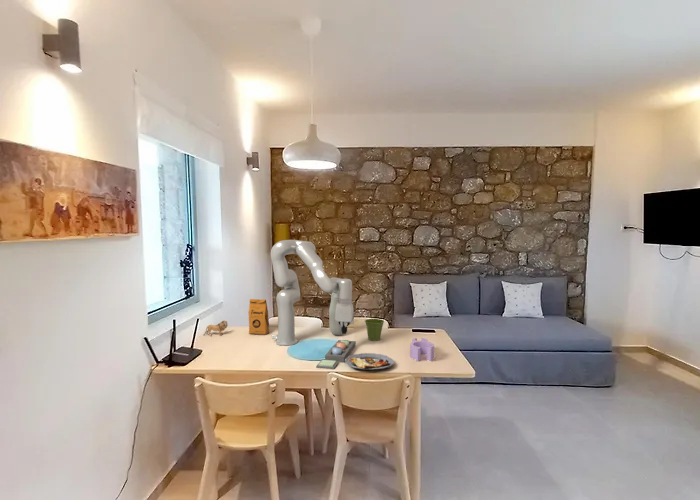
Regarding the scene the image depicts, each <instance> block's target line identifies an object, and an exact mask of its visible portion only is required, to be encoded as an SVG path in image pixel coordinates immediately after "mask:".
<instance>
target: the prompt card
mask: <svg viewBox="0 0 700 500" xmlns="http://www.w3.org/2000/svg"><path fill="white" fill-rule="evenodd" d="M339 363H340V362H339V361H332V360H325V359H321V360H320V361H319V362H318V363H317V365H316V366H315V368H318V369H319V368H320V369H326V370H327V369H330V370H335V368H336V367H337V366H338V365H339Z"/></svg>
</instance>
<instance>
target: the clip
mask: <svg viewBox="0 0 700 500" xmlns="http://www.w3.org/2000/svg"><path fill="white" fill-rule="evenodd" d="M409 349H410V350H409V353H410V354H409V357H410V358H411V359H412V358H413V359H412V360H414V359H416V360H415V361H416V362H417V361H419V360H420V361H421V355H425V354H427V355H426V361H427V360H429V361H432V362H433V360H434V359H435V343H433V342H430V341H429V339H427V338H425V337H421V339H420V340H418V338H417V337H413V338H411V342H410V346H409ZM433 358H434V359H433ZM432 359H433V360H432ZM420 361H419V362H420ZM429 361H428V362H429Z"/></svg>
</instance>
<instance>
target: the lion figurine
mask: <svg viewBox="0 0 700 500" xmlns="http://www.w3.org/2000/svg"><path fill="white" fill-rule="evenodd" d="M228 325H229V324H228V321H227V320H222V321H221V322H219V323H218V324H216V325H215V324H208V325H207V326H206V329H205V332H204V334H203V336H205V335H206V336H208V335H209V337H212V334H211V331H214V332H218V335H219V337H221V336H223V335H222V334H223V333H222V332H223V331H225V329H227V327H228Z"/></svg>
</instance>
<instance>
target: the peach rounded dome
mask: <svg viewBox="0 0 700 500" xmlns="http://www.w3.org/2000/svg"><path fill="white" fill-rule="evenodd" d="M337 347H341V348H342V350H346V343H345V342H338V343H337Z"/></svg>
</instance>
